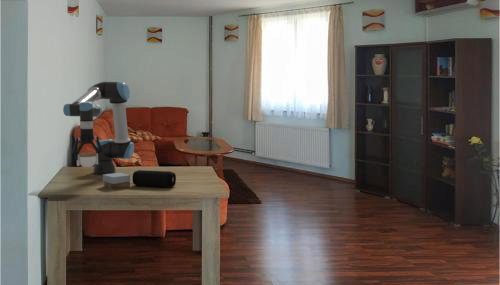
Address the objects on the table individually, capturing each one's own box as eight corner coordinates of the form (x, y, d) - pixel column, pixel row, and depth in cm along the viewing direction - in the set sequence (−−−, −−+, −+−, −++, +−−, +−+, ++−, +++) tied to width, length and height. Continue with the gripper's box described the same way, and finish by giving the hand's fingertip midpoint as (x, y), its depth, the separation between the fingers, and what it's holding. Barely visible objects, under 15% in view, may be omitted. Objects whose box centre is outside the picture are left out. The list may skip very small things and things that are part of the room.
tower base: (104, 186, 359) (104, 180, 359) (122, 185, 366) (122, 178, 366) (111, 190, 349) (111, 183, 349) (130, 188, 356) (130, 181, 356)
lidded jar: (80, 165, 351) (79, 149, 350) (98, 165, 352) (97, 149, 351) (76, 168, 341) (76, 152, 340) (95, 168, 342) (94, 152, 341)
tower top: (102, 181, 357) (102, 174, 357) (119, 178, 366) (119, 172, 365) (113, 183, 349) (112, 177, 348) (130, 181, 357) (130, 175, 356)
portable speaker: (176, 186, 364) (176, 170, 363) (172, 189, 354) (172, 173, 353) (137, 184, 368) (137, 168, 366) (131, 187, 358) (131, 171, 357)
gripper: (69, 129, 334) (70, 167, 337) (107, 127, 347) (108, 164, 350) (65, 128, 340) (66, 165, 343) (103, 126, 353) (103, 162, 356)
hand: (87, 164), depth 346 cm, fingers closed on lidded jar, 11 cm apart
